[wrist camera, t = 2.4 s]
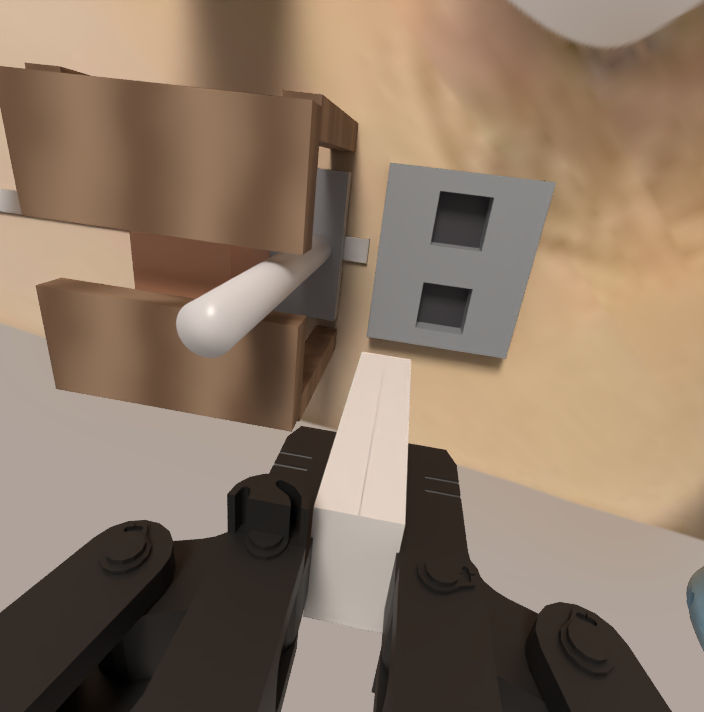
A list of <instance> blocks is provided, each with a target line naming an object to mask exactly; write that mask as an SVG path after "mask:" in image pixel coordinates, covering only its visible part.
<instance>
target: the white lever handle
mask: <svg viewBox="0 0 704 712" xmlns="http://www.w3.org/2000/svg"><path fill="white" fill-rule="evenodd" d="M351 176H352V172H345V171H337V170H328V169H320V168H317V180H316V194H315V208H314V222H313V236H312V249H311V250H309V251H308V252H306V253H305V254H303V255H298V254H291V253H284V252H277V251H270V250H263V249H256V248H249V247H242V246H235V245H228V244H221V243H214V242H207V241H200V240H193V239H186V238H179V237H172V236H165V235H158V234H151V233H144V232H137V231H130V230H129V231H130V241H131V251H132V261H133V271H134V281H135V289H136V290H143V291H149V292H156V293H162V294H168V295H175V296H181V297H188V298H194V299H195V300H193V301H191V302H189V303H188V304H186V305H185V306H183V307H182V308H181V310H180V311H179V313H178V316H177V320H176V328H177V332H178V335H179V337H180V339H181V341H182V342H183V344H184V345H185V346H186V347H187V348H188V349H189V350H190V351H191V352H193V353H195V354H196V355H198V356H201V357H205V358H217V357H220V356H222V355H224V354H225V353H227V352H228V351H229V350H230V349H231V348H232V347H233V346H234V345H235V344H236V343H237V342H239V341H240V340H241V339H242V338H243V337H244V336H245V335H246V334H247V333H248V332H249V331H250V330H252V329H253V328H254V327H255V326H256V325H257V324H258V323H259V322H260V321H261V320H262V319H263V318H265V317H266V316H267V315H268V314H269V313H270V312H271V311H278V312H284V313H290V314H297V315H303V316H307V317H310V318H317V319H323V320H329V321H335V319H336V317H337V314H338V304H339V294H340V284H341V275H342V265H343V255H344V245H345V235H346V225H347V216H348V206H349V196H350V186H351Z"/></svg>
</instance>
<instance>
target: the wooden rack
mask: <svg viewBox="0 0 704 712" xmlns="http://www.w3.org/2000/svg"><path fill="white" fill-rule="evenodd" d="M25 67H26V69H22V68H13V67H4V66H0V108H1V113H2V118H3V123H4V128H5V133H6V138H7V143H8V148H9V154H10V159H11V164H12V169H13V174H14V179H15V184H16V189H17V191H14V190H7V189H0V211H1V212H8V213H15V214H22V215H25V216H32V217H39V218H46V219H53V220H60V221H67V222H74V223H81V224H88V225H95V226H102V227H109V228H116V229H123V230H130V231H137V232H144V233H151V234H158V235H165V236H172V237H179V238H186V239H193V240H200V241H207V242H214V243H221V244H228V245H235V246H242V247H249V248H256V249H263V250H270V251H277V252H284V253H291V254H298V255H303V254H305V253H306V252H308V251H309V250H311V249H312V236H313V222H314V208H315V194H316V180H317V166H318V151H319V146H322V147H325V148H329V149H336V150H344V151H353V152H355V148H356V138H357V129H358V123H357V122H356V121H355V120H354V119H352V118H351V117H350V116H349V115H347V114H346V113H345V112H344V111H342V110H341V109H340V108H339V107H337V106H336V105H335V104H334V103H332V102H331V101H330V100H329V99H327V98H326V97H325V96H324V95H321V94H312V93H303V92H293V91H284V90H283V97H280V96H271V95H262V94H253V93H243V92H234V91H225V90H216V89H206V88H197V87H188V86H179V85H170V84H160V83H151V82H142V81H133V80H123V79H114V78H105V77H96V76H90V75H87V74H83V73H80V72H77V71H73V70H70V69H66V68H63V67H60V66H50V65H41V64H32V63H25ZM369 241H370V239H364V238H357V237H350V236H345V245H344V255H343V260H346V261H353V262H360V263H367V257H368V249H369ZM36 290H37V295H38V300H39V305H40V310H41V315H42V320H43V325H44V330H45V335H46V340H47V345H48V350H49V355H50V360H51V365H52V370H53V375H54V380H55V385H56V389H60V390H65V391H71V392H76V393H82V394H87V395H93V396H98V397H104V398H110V399H115V400H121V401H126V402H132V403H138V404H143V405H148V406H154V407H159V408H165V409H170V410H176V411H181V412H187V413H192V414H198V415H204V416H209V417H214V418H220V419H225V420H231V421H236V422H242V423H247V424H253V425H258V426H265V427H269V428H275V429H281V430H286V431H292V430H293V428H294V426H295V424H296V422H297V421H300V419H301V417H302V415H303V413H304V411H305V409H306V407H307V405H308V403H309V401H310V399H311V397H312V395H313V393H314V390H315V388H316V386H317V384H318V382H319V380H320V378H321V376H322V374H323V372H324V370H325V368H326V366H327V364H328V362H329V360H330V358H331V356H332V354H333V352H334V350H335V343H336V333H337V329H332V328H326V327H320V326H316V327H315V328H314V330H313V331H312V332H311V334H310V335H309V337H308V338H307V340H306V341H305V335H306V321H307V316H303V315H297V314H290V313H284V312H278V311H271V312H270V313H269V314H268V315H267V316H266V317H265V318H263V319H262V320H261V321H260V322H259V323H258V324H257V325H256V326H255V327H254V328H253V329H252V330H250V331H249V332H248V333H247V334H246V335H245V336H244V337H243V338H242V339H241V340H240V341H239V342H237V343H236V344H235V345H234V346H233V347H232V348H231V349H230V350H229V351H228V352H227V353H225V354H224V355H222V356H220V357H217V358H205V357H201V356H198V355H196V354H195V353H193V352H191V351H190V350H189V349H188V348H187V347H186V346H185V345H184V344H183V342H182V341H181V339H180V337H179V335H178V332H177V328H176V320H177V316H178V313H179V311H180V310H181V308H182V307H183V306H185V305H186V304H188V303H189V302H191V301H193V300H195V299H194V298H188V297H181V296H175V295H168V294H162V293H156V292H149V291H143V290H136V289H130V288H123V287H117V286H111V285H104V284H98V283H91V282H85V281H79V280H72V279H66V278H59V279H56V280H53V281H49V282H46V283H42V284H39V285H36Z"/></svg>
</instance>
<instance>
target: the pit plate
mask: <svg viewBox="0 0 704 712" xmlns="http://www.w3.org/2000/svg"><path fill="white" fill-rule="evenodd" d="M555 184H556V183H555V182H547V181H539V180H530V179H522V178H514V177H505V176H497V175H489V174H480V173H472V172H464V171H455V170H447V169H439V168H430V167H422V166H414V165H405V164H397V163H390V168H389V176H388V183H387V191H386V198H385V205H384V213H383V220H382V228H381V235H380V243H379V250H378V258H377V265H376V272H375V280H374V287H373V295H372V302H371V310H370V317H369V324H368V332H367V337H371V338H378V339H384V340H390V341H397V342H403V343H409V344H415V345H422V346H428V347H434V348H441V349H447V350H453V351H460V352H466V353H472V354H479V355H485V356H491V357H498V358H504V359H506V356H507V352H508V349H509V345H510V342H511V338H512V335H513V331H514V328H515V324H516V321H517V317H518V314H519V310H520V307H521V303H522V300H523V296H524V293H525V289H526V286H527V282H528V279H529V275H530V272H531V268H532V265H533V261H534V258H535V254H536V251H537V247H538V243H539V240H540V236H541V233H542V229H543V226H544V222H545V219H546V215H547V212H548V208H549V205H550V201H551V198H552V194H553V191H554V187H555Z"/></svg>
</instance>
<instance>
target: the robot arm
mask: <svg viewBox="0 0 704 712" xmlns="http://www.w3.org/2000/svg"><path fill="white" fill-rule="evenodd" d="M410 377H411V359H405V358H399V357H393V356H387V355H380V354H374V353H368V352H362V353H361V356H360V359H359V363H358V366H357V369H356V372H355V376H354V379H353V382H352V385H351V388H350V392H349V395H348V398H347V401H346V405H345V408H344V411H343V414H342V417H341V421H340V424H339V427H338V430H337V432H333V431H327V430H321V429H315V428H310V427H304V426H301V427H300V428H298V429H297V430H296V431H294V432H293V433H292V434H290V435H289V436H288V437H287V439H286V441H285V443H284V445H283V447H282V449H281V451H280V454H279V455H278V457H277V459H276V461H275V464H274V466H273V467H272V469H271V471H270V473H269V474H262V475H257V476H252V477H249V478H247V479H245V480H243V481H241V482H239V483H238V484H236V485H235V486H234V487H233V488H232V490H231V491H230V492H229V493H228V494H227V502H228V503H227V505H228V532H227V533H224V534H221V535H218V536H216V537H210V538H204V539H195V540H183V541H173V540H172V537H171V534H170V532H169V530H167V529H166V528H165V527H163V526H162V525H161V524H159V523H156V522H151V521H147V520H139V521H128V522H125V523H122V524H119V525H116V526H113V527H110V528H109V529H107V530H105V531H104V532H102V533H100V534H99V535H97V536H96V537H94V538H93V539H92V540H90V541H89V542H88V543H87V544H85V545H84V546H83V547H82V548H80V549H79V550H78V551H77V552H75V553H74V554H73V555H72V556H70V557H69V558H68V559H67V560H65V561H64V562H63V563H62V564H60V565H59V566H58V567H57V568H56V569H54V570H53V571H52V572H50V573H49V574H48V575H47V576H45V577H44V578H43V579H42V580H40V582H38V583H37V584H35V585H34V586H33V587H32V588H31V589H29V590H28V591H27V592H26V593H24V594H23V595H22V596H21V597H19V598H18V599H17V600H16V601H14V602H13V603H12V604H11V605H9V606H8V607H7V608H6V609H4V610H3V611H2V612H1V613H0V712H281V709H282V704H283V701H284V697H285V693H286V689H287V685H288V680H289V677H290V673H291V669H292V665H293V661H294V657H295V653H296V649H297V638H298V630H299V625H300V622H301V618H302V614H303V616H304V617H308V618H312V619H317V620H322V621H326V622H331V623H336V624H341V625H345V626H350V627H355V628H359V629H364V630H368V631H373V632H378V633H382V629H383V633H382V647H381V651H380V656H379V661H378V665H377V670H376V674H375V679H374V683H373V688H372V692H373V693H375V699H374V710H373V712H672V711H671V710H670V708H669V707H668V705H667V704H666V702H665V701H664V699H663V698H662V696H661V695H660V693H659V692H658V690H657V689H656V687H655V686H654V684H653V683H652V681H651V679H650V678H649V677H648V675H647V673H646V672H645V670H644V669H643V667H642V666H641V664H640V663H639V661H638V660H637V658H636V657H635V655H634V654H633V652H632V651H631V649H630V647H629V646H628V645H627V643H626V642H625V641H624V640H623V639H622V637H621V636H620V635H619V634H618V633H617V631H616V630H615V629H614V628H613V627H612V626H611V625H609V624H608V623H606V622H605V621H604V620H603V619H602V618H600V617H599V616H598V615H596V614H595V613H593V612H591V611H589V610H587V609H584V608H582V607H580V606H578V605H575V604H569V603H563V602H558V603H554V604H550V605H546V606H545V607H544V608H543V609H542V611H541V612H540V613H539V614H538V613H536V612H533V611H532V610H529V609H528V608H526V607H523V606H521V605H519V604H517V603H515V602H513V601H511V600H509V599H508V598H505V597H504V596H502V595H501V594H499V593H498V592H496V591H495V590H493V589H492V588H491V587H490V586H489V585H488V584H486V583H485V582H484V581H483V579H482V578H481V577H480V575H479V572H478V569H477V568H476V567H475V565H474V564H473V563H472V562H471V560H470V558H469V554H468V549H467V541H466V534H465V526H464V518H463V511H462V503H461V499H460V489H459V485H458V482H459V481H458V472H457V465H456V464H455V462H454V461H453V459H452V458H451V457H450V455H449V454H448V452H447V451H446V450H443V449H438V448H432V447H426V446H421V445H415V444H409V443H408V432H409V405H410ZM687 604H688V608H689V613H690V619H691V622H692V625H693V628H694V630H695V633H696V635H697V638H698V640H699V642H700V644H701V647H702V649H703V651H704V567H702V568H701V569H699V570H698V571H697V572H695V573H694V575H693V576H692V577H691V579H690V581H689V583H688V586H687ZM303 610H304V613H303Z"/></svg>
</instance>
